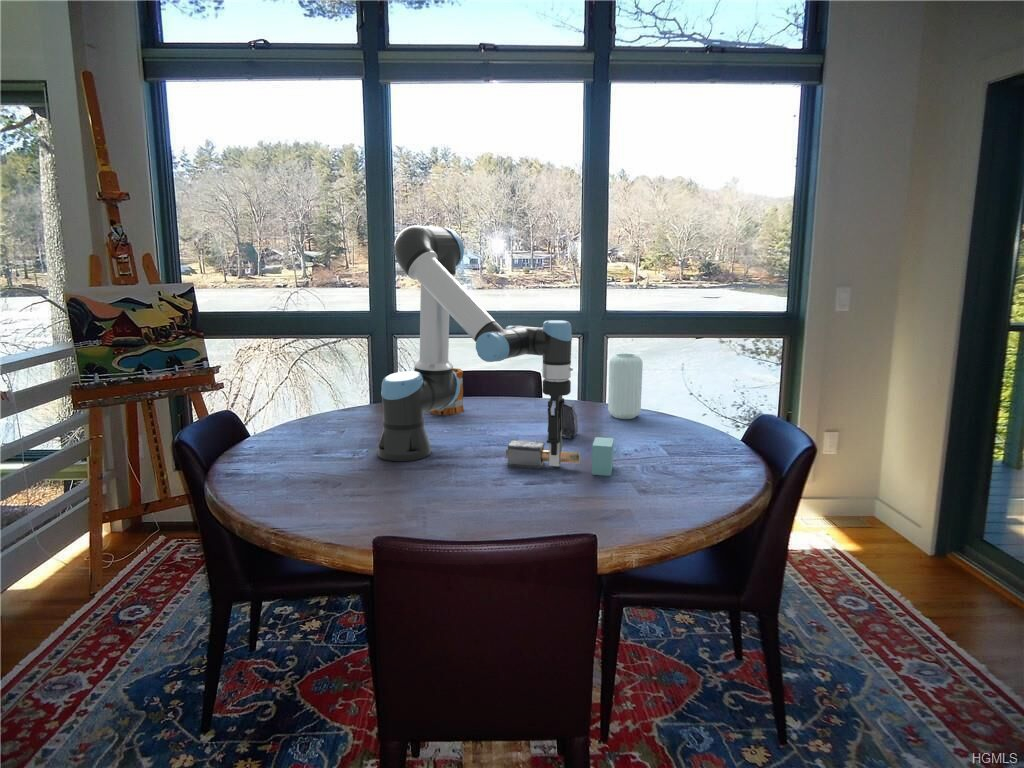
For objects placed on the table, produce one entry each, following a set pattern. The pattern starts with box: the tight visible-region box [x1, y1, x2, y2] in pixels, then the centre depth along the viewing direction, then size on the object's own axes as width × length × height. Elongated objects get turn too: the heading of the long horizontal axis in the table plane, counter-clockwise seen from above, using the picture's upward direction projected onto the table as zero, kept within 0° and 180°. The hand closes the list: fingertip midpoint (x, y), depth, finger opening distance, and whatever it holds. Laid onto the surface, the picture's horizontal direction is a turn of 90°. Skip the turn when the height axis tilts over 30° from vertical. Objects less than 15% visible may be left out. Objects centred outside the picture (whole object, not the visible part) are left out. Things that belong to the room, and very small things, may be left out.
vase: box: [607, 352, 643, 420], centre depth 231 cm, size 12×12×22 cm
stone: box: [562, 402, 579, 440], centre depth 209 cm, size 12×10×10 cm
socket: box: [591, 436, 615, 477], centre depth 175 cm, size 5×8×8 cm, turn 167°
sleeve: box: [507, 439, 545, 470], centre depth 179 cm, size 9×6×6 cm, turn 77°
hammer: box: [505, 429, 581, 465], centre depth 178 cm, size 20×3×9 cm, turn 77°
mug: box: [429, 367, 465, 416], centre depth 237 cm, size 20×14×15 cm
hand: (555, 463), depth 178 cm, fingers closed on hammer, 3 cm apart
